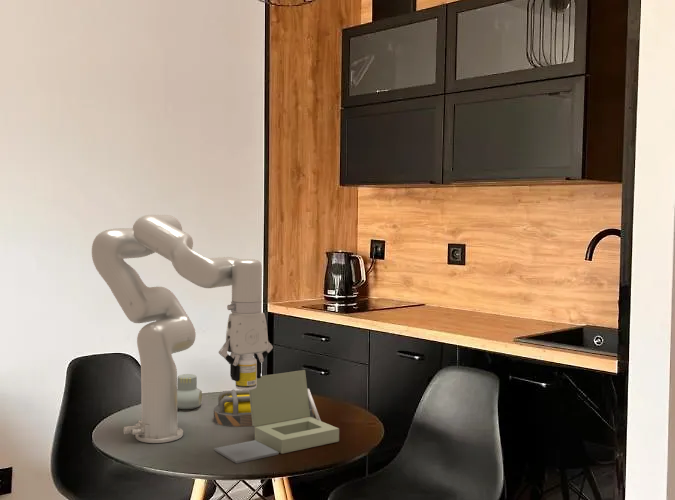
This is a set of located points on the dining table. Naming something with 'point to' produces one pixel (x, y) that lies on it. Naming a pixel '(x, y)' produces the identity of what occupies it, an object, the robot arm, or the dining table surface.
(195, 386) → the air freshener
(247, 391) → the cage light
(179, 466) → the dining table surface
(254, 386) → the supplement bottle
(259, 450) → the slate pad
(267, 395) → the equipment case
